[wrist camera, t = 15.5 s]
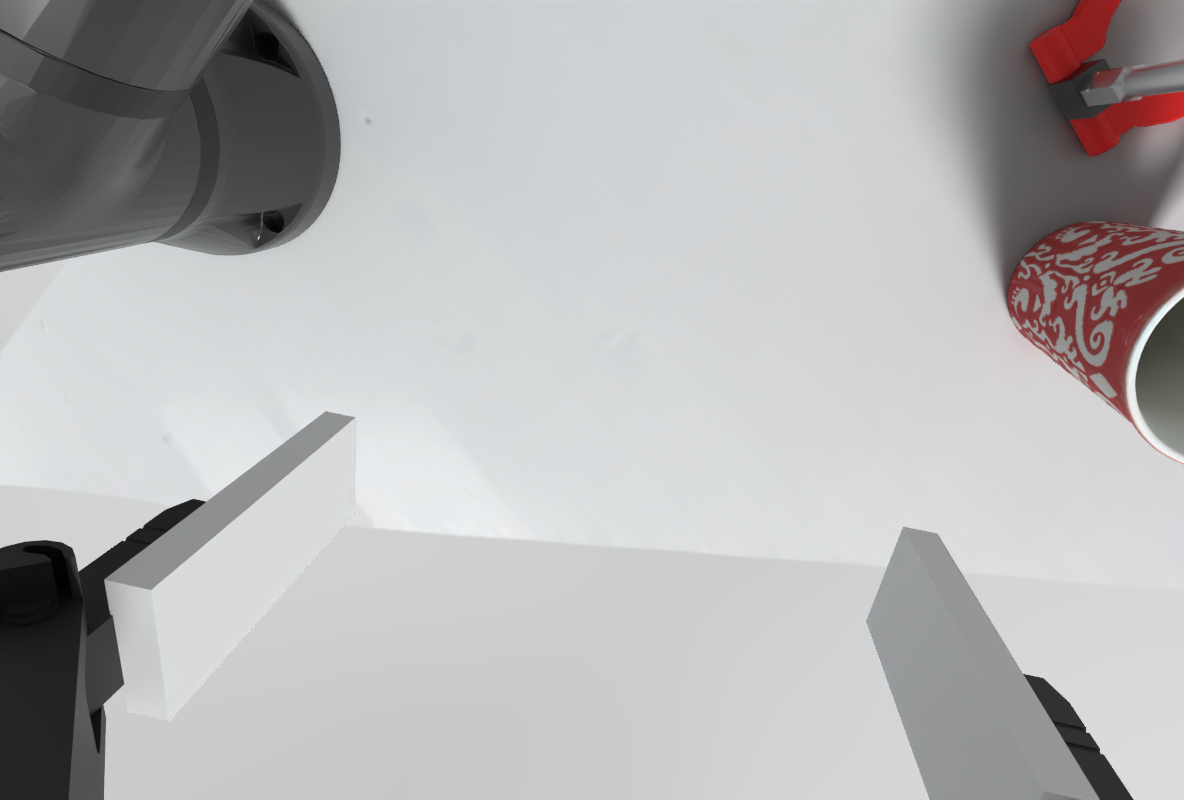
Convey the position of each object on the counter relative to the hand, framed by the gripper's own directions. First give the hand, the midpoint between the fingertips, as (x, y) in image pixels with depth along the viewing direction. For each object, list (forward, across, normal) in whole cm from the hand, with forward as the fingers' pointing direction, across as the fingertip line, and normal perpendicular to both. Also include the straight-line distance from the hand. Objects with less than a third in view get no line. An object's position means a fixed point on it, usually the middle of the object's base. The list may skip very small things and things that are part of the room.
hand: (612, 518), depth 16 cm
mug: (+27, +24, +5) cm, 36 cm away
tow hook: (+27, +21, +16) cm, 38 cm away
